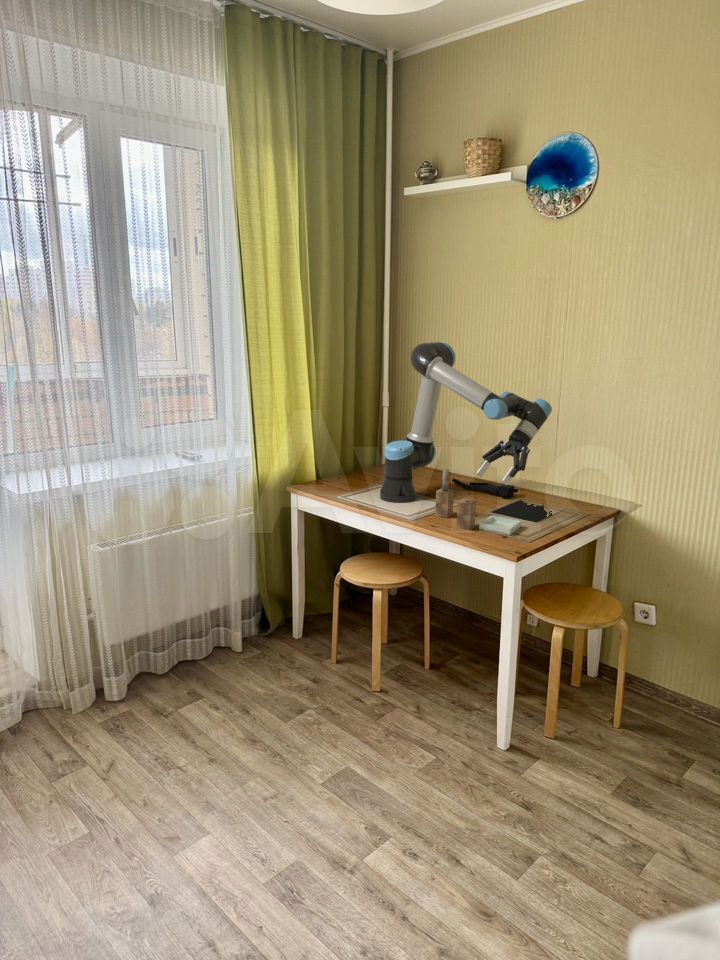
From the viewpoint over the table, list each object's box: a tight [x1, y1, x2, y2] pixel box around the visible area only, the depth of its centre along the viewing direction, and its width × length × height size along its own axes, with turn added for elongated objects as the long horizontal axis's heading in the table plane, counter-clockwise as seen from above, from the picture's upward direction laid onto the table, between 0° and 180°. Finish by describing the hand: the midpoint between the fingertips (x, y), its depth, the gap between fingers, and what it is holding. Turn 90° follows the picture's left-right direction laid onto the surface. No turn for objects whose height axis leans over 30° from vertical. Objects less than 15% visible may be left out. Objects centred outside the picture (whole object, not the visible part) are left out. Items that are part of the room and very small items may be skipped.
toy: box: [451, 477, 519, 499], centre depth 303 cm, size 10×5×30 cm
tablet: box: [490, 499, 553, 524], centre depth 275 cm, size 27×1×20 cm
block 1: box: [434, 468, 455, 519], centre depth 265 cm, size 5×5×18 cm
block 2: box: [455, 498, 477, 531], centre depth 252 cm, size 5×5×10 cm
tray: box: [478, 515, 522, 536], centre depth 252 cm, size 12×12×2 cm
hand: (491, 479), depth 255 cm, fingers open, 13 cm apart
